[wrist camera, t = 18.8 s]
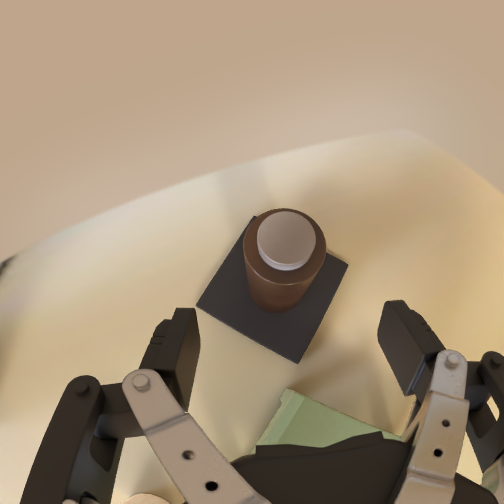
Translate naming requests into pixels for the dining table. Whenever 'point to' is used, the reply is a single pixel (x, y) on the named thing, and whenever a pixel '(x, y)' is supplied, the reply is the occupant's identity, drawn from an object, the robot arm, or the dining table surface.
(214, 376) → the dining table surface
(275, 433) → the tray
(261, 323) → the mat
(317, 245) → the brown bottle
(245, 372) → the dining table surface
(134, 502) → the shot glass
